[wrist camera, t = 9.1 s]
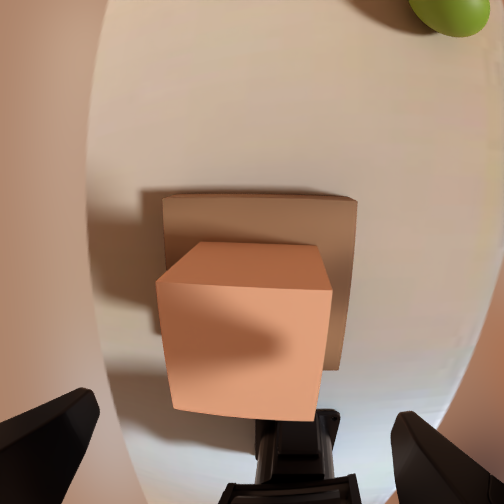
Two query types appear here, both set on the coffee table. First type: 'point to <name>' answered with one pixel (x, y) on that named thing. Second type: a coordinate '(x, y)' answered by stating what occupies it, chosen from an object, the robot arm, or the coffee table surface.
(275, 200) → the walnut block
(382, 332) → the coffee table surface
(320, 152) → the coffee table surface
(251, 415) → the terracotta cube
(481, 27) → the snail figurine
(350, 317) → the coffee table surface
